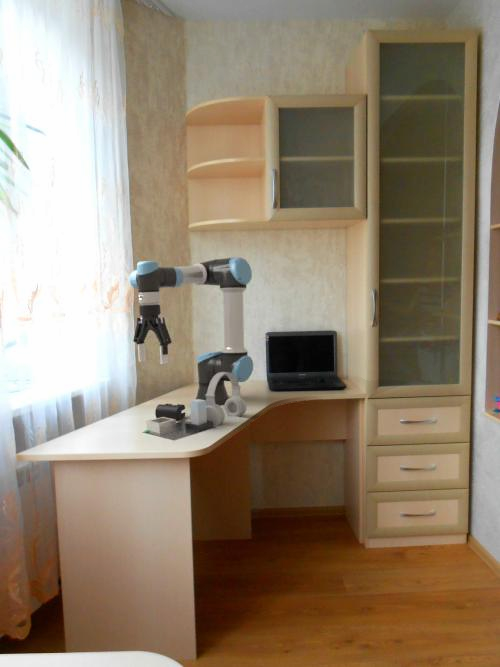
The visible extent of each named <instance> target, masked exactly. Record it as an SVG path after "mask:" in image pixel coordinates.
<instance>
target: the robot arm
mask: <svg viewBox="0 0 500 667" xmlns="http://www.w3.org/2000/svg"><path fill="white" fill-rule="evenodd" d="M136 265H137V266H136V270H133V271H132V272H130V275H129V284H130V285H131V287H132V288H133V289H135V290H138V304H140V305H139V307H138V309H139V311H138V312H139V316H141V317H137V318H136V327H135V332H134V336H133V340H132V341H133V342H134V343H136V344H137V352H138V353H137V355H138V362H139V363H141V362H147V357H146V356H147V355H146V343H145V340H146V337H147V336H148V333H149V332H150V331H152V332H153V333H154V335H155V337H156V339H157V340H158V342H159V343H160V344H159V358H160V365H165V364H169V357H168V354H169V351H168V350H169V349H168V348H169V347H168V346H169V345H171V344H172V338H171V336H170V332H169V330H168V328H167V325H166V320H165V317H159V315H161V314H162V313H161V312H162V310H161V305H160V304H159V303H161V296H160V295H161V294H160V293H161V292H160V288H161V289H163V288H178V287H181V285H189V284H191V285H192V284H195V285H197V286H203V285H206V286H219V290H220V291H221V293H223V335H224V336H223V338H224V341H223V342H224V344H223V345H224V347H223V348H222V350H219V351H218V350H216V351H212V352H210V351H209V352H205V353H200V354H198V356H197V377H198V389H197V394H196V397H195V400H197V399H201V400H206V396H205V395H206V394H207V390H208V387H209V384H210V382H211V380H212V378H213V377H214V376H215V375H216V374H217V373H219V372H228V373H232V374H233V375H234V376H235V377H236V379H237V381H238V383H244V382H246V381H248V380H249V379H250V377H251V376H252V373H253V370H254V361H253V359H252V357H251V356H249V355H248V350H247V349H246V348H245V329H244V327H245V326H244V292H245V291H246V290H247V285H248V284H249V283H251V280H252V277H253V275H252V274H253V270H252V268H251V265H250V263H249V262H248V260H246V259H245V258H243V257H227V258H215V259H211V260H208V261H203V262H198V263H197V262H196V263H194V264H192V265H188V266H187V265H185V266H172V267H171V266H168V267H166V266H164V267H163V266H161V267H160V266H159V263H158V261H154V260H144V261H139V262H137V264H136ZM225 382H231V381H230V379H229V378H228V376H226V375H223V376H222V377H221V378H220V380H219V381H218V383H217V386H216V389H215V394H214V395H215V404H217V405H219V406H220V405H221V406H222V405H225V402H226V401H227V400H228V399H229V398H230V397H229V395H228V392H227V388H226V385H225Z"/></svg>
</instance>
